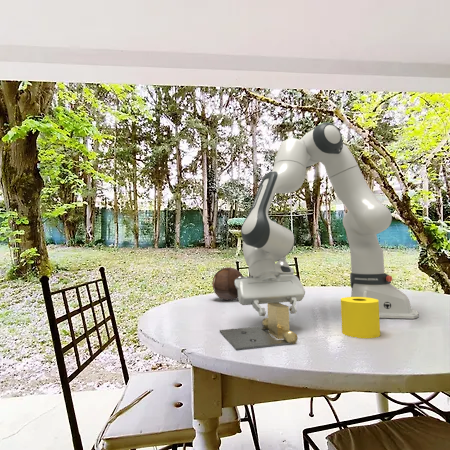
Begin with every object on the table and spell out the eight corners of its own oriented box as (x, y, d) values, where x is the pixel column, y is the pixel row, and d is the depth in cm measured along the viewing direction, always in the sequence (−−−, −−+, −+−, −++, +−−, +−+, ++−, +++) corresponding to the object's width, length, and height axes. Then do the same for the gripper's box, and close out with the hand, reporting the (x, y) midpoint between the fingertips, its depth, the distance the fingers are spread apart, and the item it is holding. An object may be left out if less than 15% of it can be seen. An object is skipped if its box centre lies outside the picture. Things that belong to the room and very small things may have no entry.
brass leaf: (268, 332, 97) (267, 303, 98) (279, 331, 98) (278, 302, 99) (277, 339, 91) (276, 307, 91) (289, 338, 92) (288, 306, 92)
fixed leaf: (219, 331, 99) (219, 321, 100) (271, 327, 104) (271, 317, 104) (236, 350, 82) (236, 337, 82) (297, 343, 86) (297, 331, 86)
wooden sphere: (245, 297, 161) (245, 266, 162) (244, 303, 146) (243, 268, 147) (215, 297, 162) (214, 266, 163) (210, 303, 147) (209, 269, 148)
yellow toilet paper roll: (373, 340, 87) (371, 304, 88) (336, 334, 94) (334, 300, 94) (385, 332, 95) (383, 298, 95) (350, 327, 101) (348, 295, 102)
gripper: (234, 270, 100) (245, 310, 90) (297, 267, 105) (314, 304, 95) (231, 284, 104) (241, 323, 94) (291, 280, 109) (307, 317, 99)
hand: (278, 313), depth 94 cm, fingers open, 8 cm apart
